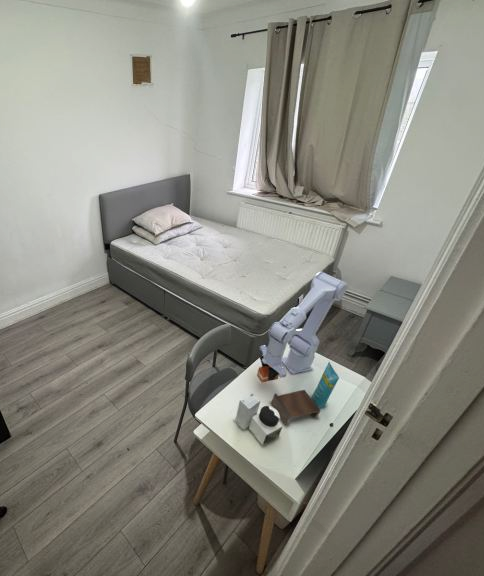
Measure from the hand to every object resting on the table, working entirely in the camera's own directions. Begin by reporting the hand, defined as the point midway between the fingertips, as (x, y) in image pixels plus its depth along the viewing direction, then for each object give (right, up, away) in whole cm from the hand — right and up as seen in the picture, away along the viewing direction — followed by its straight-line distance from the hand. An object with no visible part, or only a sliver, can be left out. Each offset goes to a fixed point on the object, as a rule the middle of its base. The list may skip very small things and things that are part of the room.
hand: (267, 375), depth 118 cm
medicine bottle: (-7, -17, -12) cm, 22 cm away
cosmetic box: (-12, -14, -9) cm, 21 cm away
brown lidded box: (+7, -12, -6) cm, 15 cm away
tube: (+18, -10, -3) cm, 20 cm away
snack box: (0, -1, +1) cm, 1 cm away
